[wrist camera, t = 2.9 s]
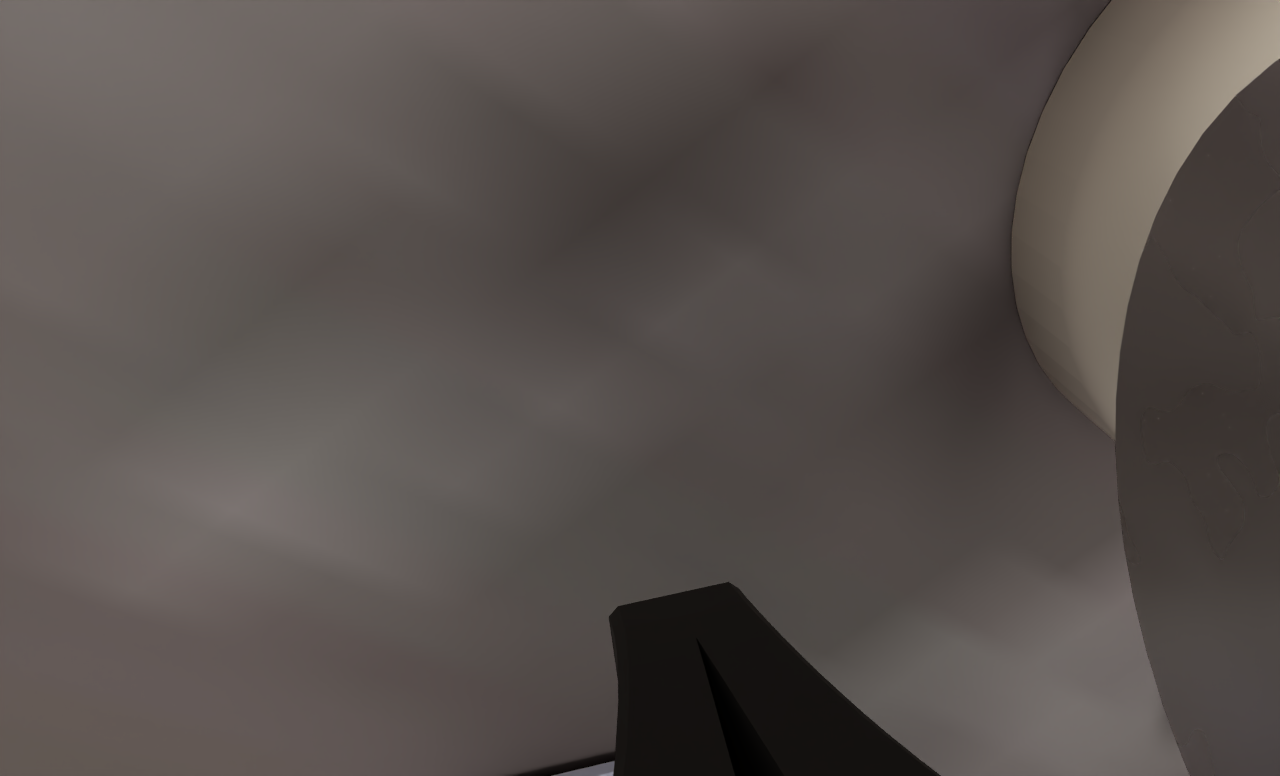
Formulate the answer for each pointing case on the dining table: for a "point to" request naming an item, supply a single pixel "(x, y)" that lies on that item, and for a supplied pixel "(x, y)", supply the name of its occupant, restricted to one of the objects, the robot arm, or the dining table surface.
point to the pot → (1119, 172)
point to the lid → (1210, 442)
